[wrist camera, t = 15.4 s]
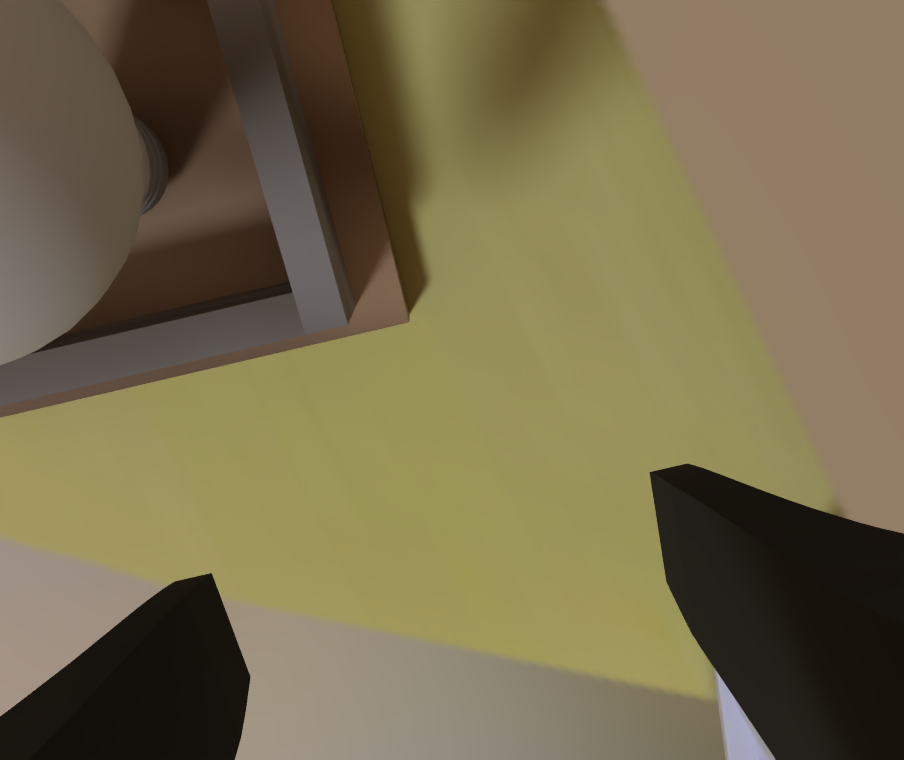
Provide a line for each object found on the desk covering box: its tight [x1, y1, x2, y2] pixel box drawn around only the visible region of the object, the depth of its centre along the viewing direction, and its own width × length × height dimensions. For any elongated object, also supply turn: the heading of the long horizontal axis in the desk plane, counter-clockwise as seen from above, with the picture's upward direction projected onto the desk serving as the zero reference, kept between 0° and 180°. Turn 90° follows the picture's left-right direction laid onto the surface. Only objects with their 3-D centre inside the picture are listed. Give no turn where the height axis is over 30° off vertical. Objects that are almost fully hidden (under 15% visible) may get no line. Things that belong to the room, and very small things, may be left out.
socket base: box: [0, 0, 409, 417], centre depth 16 cm, size 11×12×4 cm
